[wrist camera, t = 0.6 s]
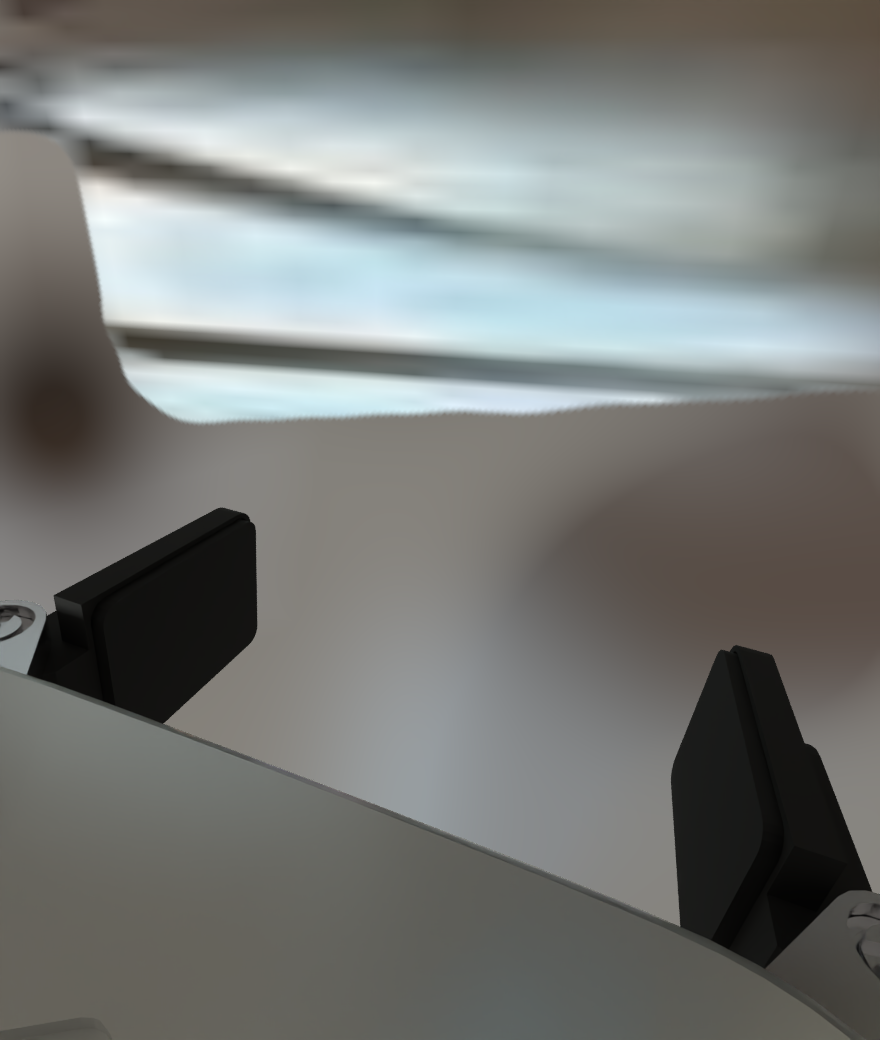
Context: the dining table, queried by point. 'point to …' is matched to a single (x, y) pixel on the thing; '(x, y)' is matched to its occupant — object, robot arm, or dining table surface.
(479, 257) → the dining table surface
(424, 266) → the dining table surface
